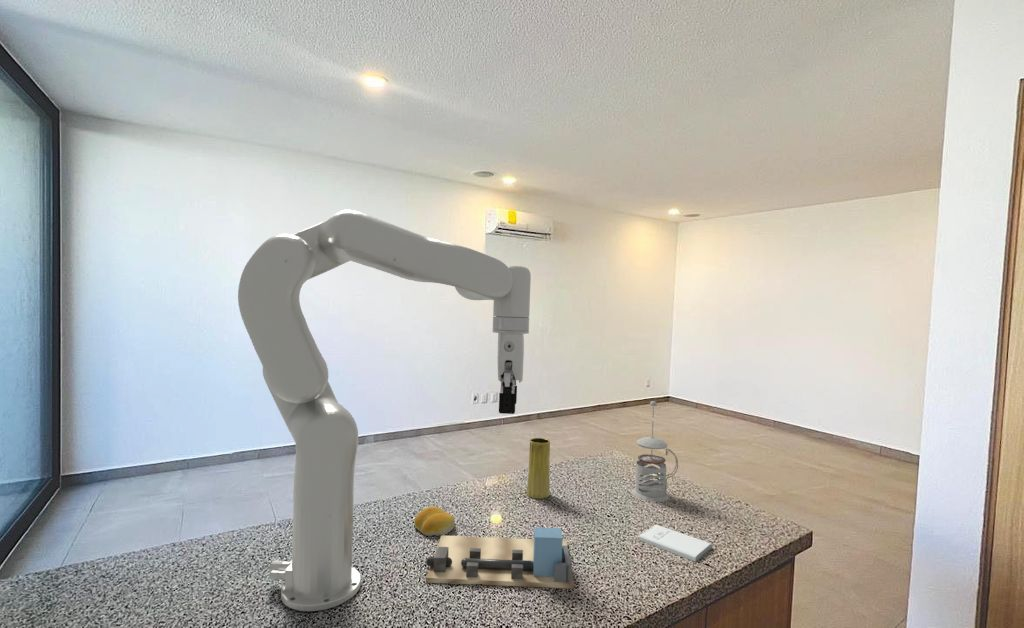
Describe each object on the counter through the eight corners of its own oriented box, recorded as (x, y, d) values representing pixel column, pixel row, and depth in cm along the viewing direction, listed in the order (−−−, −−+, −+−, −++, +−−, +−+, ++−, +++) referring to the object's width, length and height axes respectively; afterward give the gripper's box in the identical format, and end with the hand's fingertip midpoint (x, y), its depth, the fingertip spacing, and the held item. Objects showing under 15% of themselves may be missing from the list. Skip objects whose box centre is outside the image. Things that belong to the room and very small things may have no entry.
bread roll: (430, 541, 101) (430, 522, 101) (408, 526, 108) (409, 508, 108) (462, 530, 106) (463, 512, 106) (440, 516, 113) (440, 499, 113)
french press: (629, 486, 135) (632, 396, 135) (672, 489, 134) (675, 399, 133) (633, 500, 126) (636, 403, 125) (680, 503, 124) (683, 406, 124)
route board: (421, 582, 85) (421, 563, 85) (437, 539, 101) (437, 522, 101) (573, 588, 85) (574, 569, 85) (565, 544, 101) (566, 527, 101)
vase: (550, 499, 124) (552, 443, 124) (526, 498, 124) (528, 443, 124) (549, 490, 130) (550, 437, 130) (526, 489, 131) (527, 436, 130)
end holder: (554, 581, 85) (554, 564, 85) (552, 560, 92) (552, 545, 92) (570, 582, 85) (570, 565, 85) (566, 561, 92) (567, 545, 92)
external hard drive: (695, 565, 95) (638, 542, 104) (711, 550, 101) (656, 530, 110) (695, 556, 95) (638, 534, 104) (712, 542, 101) (656, 523, 110)
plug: (459, 573, 87) (460, 534, 87) (462, 561, 91) (463, 524, 91) (561, 577, 87) (562, 538, 87) (559, 565, 91) (560, 528, 91)
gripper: (528, 328, 92) (525, 418, 92) (529, 325, 109) (526, 401, 109) (489, 326, 92) (486, 416, 92) (495, 324, 109) (493, 400, 110)
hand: (507, 408), depth 101 cm, fingers open, 9 cm apart
